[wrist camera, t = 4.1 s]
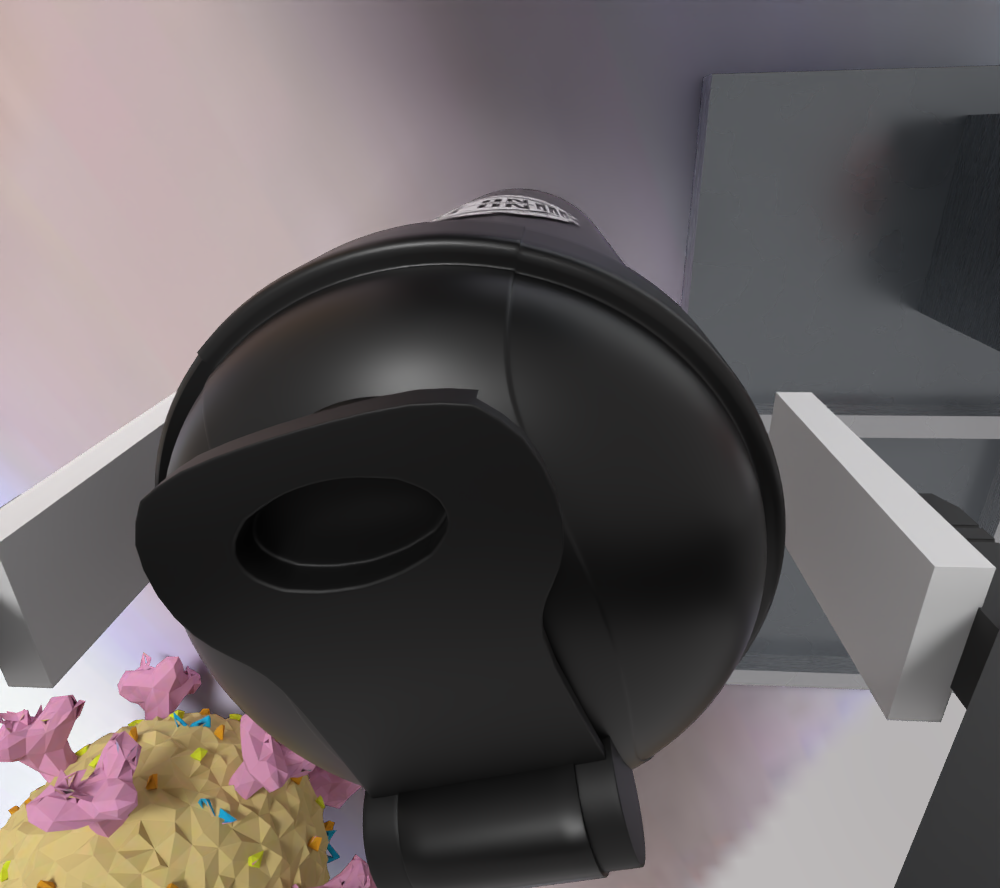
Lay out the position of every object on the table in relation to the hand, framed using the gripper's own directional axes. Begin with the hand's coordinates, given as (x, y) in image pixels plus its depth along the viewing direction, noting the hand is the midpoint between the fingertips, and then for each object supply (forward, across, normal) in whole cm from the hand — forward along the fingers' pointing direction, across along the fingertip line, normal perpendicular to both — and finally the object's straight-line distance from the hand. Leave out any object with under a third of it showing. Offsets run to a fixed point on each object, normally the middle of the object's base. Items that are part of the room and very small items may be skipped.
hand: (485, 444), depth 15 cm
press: (+15, +15, -6) cm, 22 cm away
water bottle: (+15, 0, 0) cm, 15 cm away
